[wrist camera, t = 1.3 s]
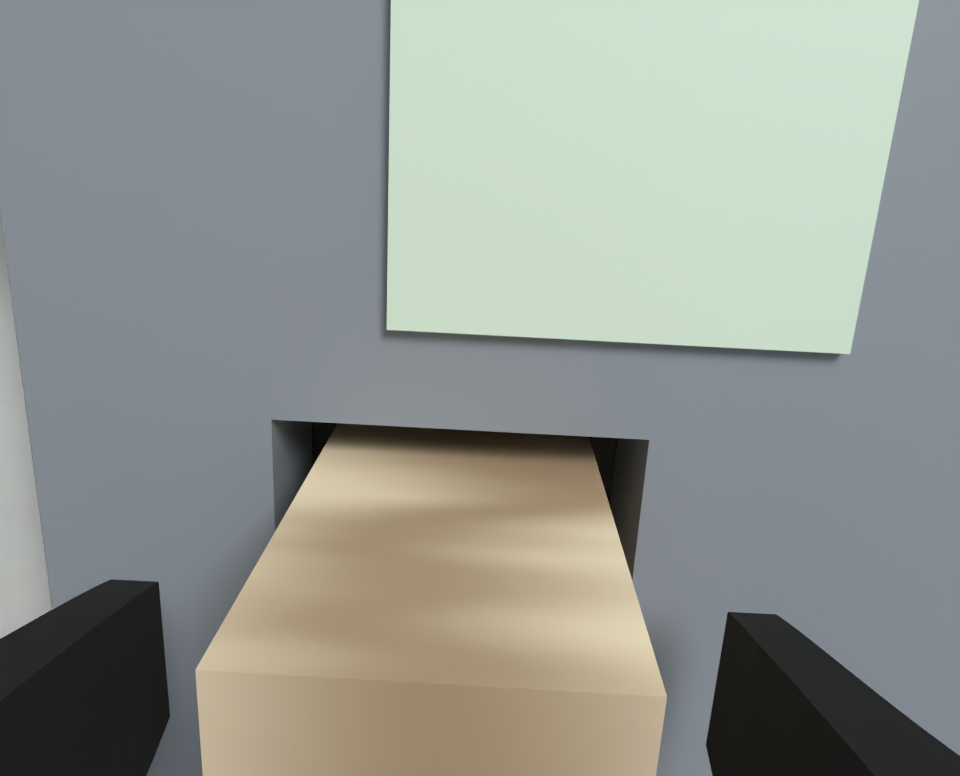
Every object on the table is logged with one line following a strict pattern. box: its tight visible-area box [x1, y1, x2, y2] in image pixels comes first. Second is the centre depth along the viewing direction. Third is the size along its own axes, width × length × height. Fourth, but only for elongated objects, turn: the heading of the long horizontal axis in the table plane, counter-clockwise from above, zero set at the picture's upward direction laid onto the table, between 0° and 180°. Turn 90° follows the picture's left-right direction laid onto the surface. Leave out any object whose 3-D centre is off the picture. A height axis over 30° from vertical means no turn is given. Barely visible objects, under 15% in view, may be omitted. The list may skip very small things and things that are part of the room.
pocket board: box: [0, 0, 960, 776], centre depth 12 cm, size 14×16×3 cm
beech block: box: [195, 423, 667, 776], centre depth 11 cm, size 4×4×7 cm
